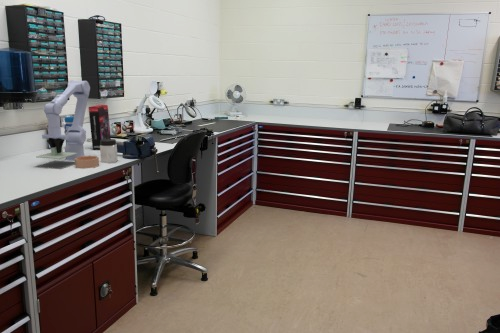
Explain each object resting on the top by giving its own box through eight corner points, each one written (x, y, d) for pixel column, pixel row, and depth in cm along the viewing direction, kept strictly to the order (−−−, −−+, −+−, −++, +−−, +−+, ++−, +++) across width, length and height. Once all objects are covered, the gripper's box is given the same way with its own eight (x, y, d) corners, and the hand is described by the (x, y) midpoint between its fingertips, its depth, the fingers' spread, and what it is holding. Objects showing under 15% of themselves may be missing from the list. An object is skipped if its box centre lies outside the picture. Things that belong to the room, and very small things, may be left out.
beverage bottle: (75, 146, 273) (72, 116, 269) (82, 147, 268) (80, 116, 264) (63, 148, 266) (60, 117, 262) (70, 149, 262) (67, 118, 257)
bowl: (71, 168, 212) (70, 159, 211) (84, 163, 223) (83, 155, 222) (90, 169, 210) (89, 160, 209) (102, 164, 220) (102, 156, 219)
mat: (32, 168, 212) (32, 167, 212) (55, 161, 228) (55, 160, 228) (61, 170, 208) (61, 169, 208) (82, 163, 224) (82, 162, 224)
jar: (103, 163, 223) (101, 141, 220) (99, 161, 229) (97, 139, 227) (119, 162, 228) (118, 140, 225) (115, 159, 234) (114, 138, 232)
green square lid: (36, 157, 212) (35, 148, 211) (54, 152, 225) (54, 144, 224) (59, 159, 209) (59, 150, 208) (77, 154, 222) (76, 145, 221)
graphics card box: (102, 150, 261) (99, 106, 255) (91, 150, 261) (87, 106, 255) (111, 145, 277) (108, 104, 271) (101, 145, 278) (98, 104, 271)
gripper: (36, 127, 211) (39, 153, 214) (61, 128, 208) (64, 154, 211) (46, 125, 218) (49, 150, 221) (70, 126, 215) (72, 152, 218)
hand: (57, 152), depth 217 cm, fingers closed on green square lid
